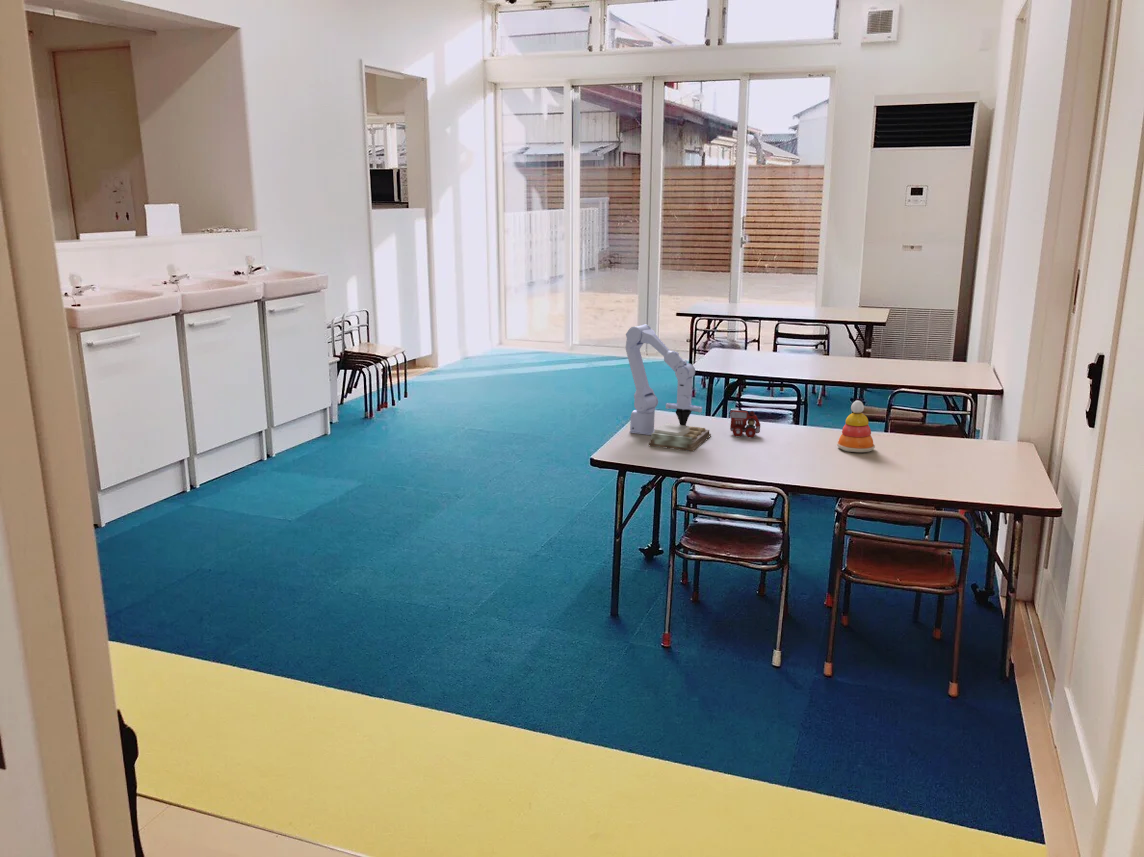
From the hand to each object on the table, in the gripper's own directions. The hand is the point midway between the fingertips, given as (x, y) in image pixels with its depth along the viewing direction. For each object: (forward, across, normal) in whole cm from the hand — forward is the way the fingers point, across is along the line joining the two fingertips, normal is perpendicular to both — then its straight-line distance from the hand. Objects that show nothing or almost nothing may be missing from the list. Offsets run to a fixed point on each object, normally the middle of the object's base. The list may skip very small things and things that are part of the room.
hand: (682, 427), depth 358 cm
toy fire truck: (+5, -21, -17) cm, 28 cm away
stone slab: (+1, +2, +7) cm, 8 cm away
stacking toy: (+5, -65, -16) cm, 67 cm away
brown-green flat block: (+5, 0, +3) cm, 6 cm away
